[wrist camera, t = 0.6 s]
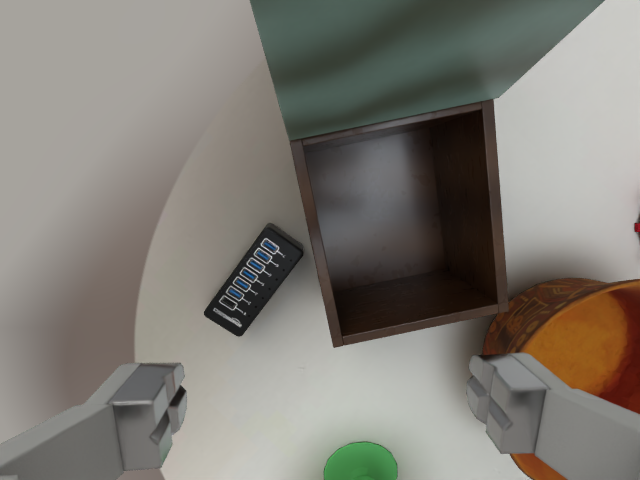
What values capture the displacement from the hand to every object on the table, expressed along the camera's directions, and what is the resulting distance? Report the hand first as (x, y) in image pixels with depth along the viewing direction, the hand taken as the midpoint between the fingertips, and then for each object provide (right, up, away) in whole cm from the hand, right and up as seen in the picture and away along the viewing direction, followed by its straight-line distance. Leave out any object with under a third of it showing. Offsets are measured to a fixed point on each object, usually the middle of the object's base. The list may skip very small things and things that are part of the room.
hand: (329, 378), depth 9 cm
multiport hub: (-7, 0, +24) cm, 25 cm away
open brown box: (+5, +7, +23) cm, 24 cm away
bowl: (+25, -7, +27) cm, 37 cm away
